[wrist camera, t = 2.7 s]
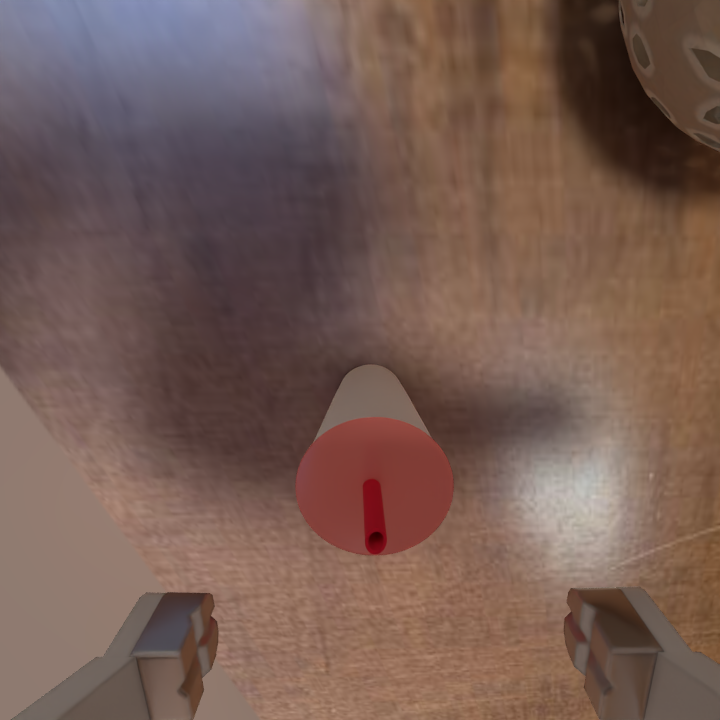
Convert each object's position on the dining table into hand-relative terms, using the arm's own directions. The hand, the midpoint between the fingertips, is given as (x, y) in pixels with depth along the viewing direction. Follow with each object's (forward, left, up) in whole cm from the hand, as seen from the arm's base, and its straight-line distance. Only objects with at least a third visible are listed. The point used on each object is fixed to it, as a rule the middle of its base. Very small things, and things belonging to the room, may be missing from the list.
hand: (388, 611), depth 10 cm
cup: (0, 0, -14) cm, 14 cm away
